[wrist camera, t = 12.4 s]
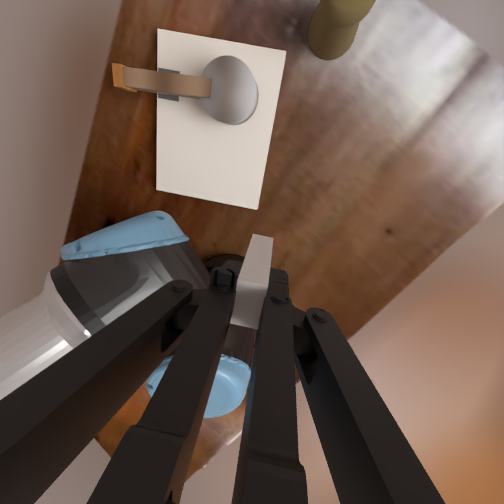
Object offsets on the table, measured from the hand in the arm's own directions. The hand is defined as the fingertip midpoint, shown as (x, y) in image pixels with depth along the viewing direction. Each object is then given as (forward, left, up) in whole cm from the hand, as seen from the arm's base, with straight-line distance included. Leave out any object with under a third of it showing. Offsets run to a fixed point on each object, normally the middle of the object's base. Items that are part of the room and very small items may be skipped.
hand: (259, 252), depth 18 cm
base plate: (+8, +11, -24) cm, 28 cm away
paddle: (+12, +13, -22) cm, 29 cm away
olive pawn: (+21, -3, -25) cm, 33 cm away
